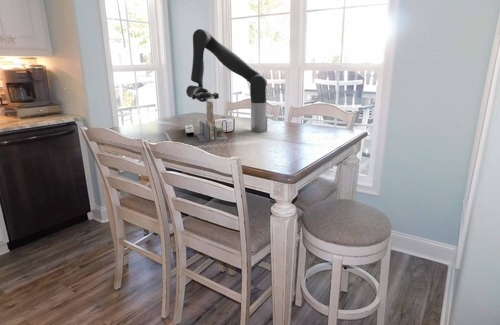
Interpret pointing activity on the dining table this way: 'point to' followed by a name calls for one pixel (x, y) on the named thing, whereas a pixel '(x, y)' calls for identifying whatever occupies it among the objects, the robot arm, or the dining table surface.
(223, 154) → the dining table surface
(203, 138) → the rack
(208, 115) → the brown wooden board
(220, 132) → the offcut
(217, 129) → the offcut
